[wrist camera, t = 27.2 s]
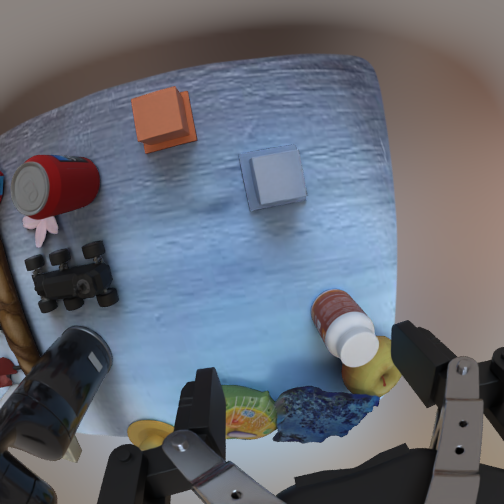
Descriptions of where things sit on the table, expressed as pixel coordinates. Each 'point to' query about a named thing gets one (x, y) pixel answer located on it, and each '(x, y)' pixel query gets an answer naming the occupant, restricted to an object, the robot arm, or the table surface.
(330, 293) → the pill bottle
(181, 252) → the table surface
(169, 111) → the terracotta block
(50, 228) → the flower
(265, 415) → the educational model
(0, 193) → the toy truck
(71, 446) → the cosmetic box
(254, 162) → the slate-blue block
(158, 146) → the terracotta mat
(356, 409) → the rock
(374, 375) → the apple
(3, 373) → the dentures model
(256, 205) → the slate-blue mat
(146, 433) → the cup
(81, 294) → the toy vehicle
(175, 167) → the table surface
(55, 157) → the beverage can
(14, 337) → the bread
